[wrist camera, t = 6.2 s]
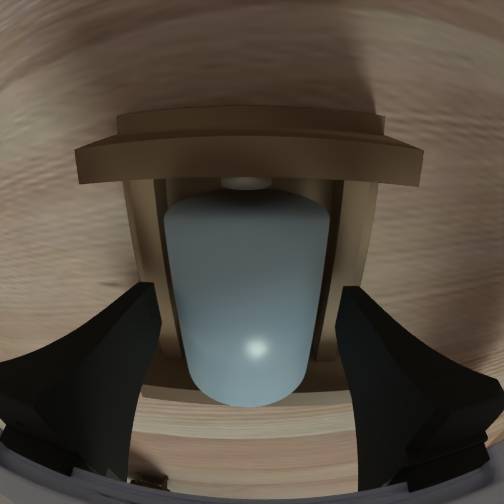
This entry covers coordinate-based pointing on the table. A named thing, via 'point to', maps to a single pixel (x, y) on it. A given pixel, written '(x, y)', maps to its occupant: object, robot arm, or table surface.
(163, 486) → the alarm clock
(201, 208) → the tapered cup
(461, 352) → the table surface
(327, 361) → the holder
